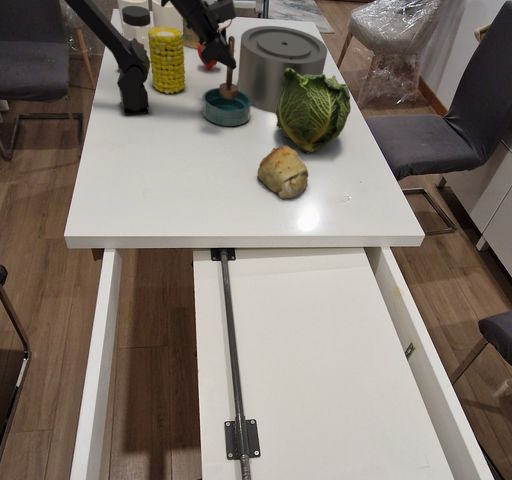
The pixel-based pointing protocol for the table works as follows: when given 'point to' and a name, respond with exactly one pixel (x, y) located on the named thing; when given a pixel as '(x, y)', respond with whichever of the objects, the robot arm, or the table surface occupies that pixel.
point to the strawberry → (203, 61)
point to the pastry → (283, 172)
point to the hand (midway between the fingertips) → (235, 66)
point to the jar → (137, 25)
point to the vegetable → (312, 109)
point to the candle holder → (131, 0)
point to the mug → (192, 36)
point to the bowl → (226, 108)
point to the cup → (166, 16)
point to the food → (167, 59)
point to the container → (276, 61)
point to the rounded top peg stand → (229, 77)
